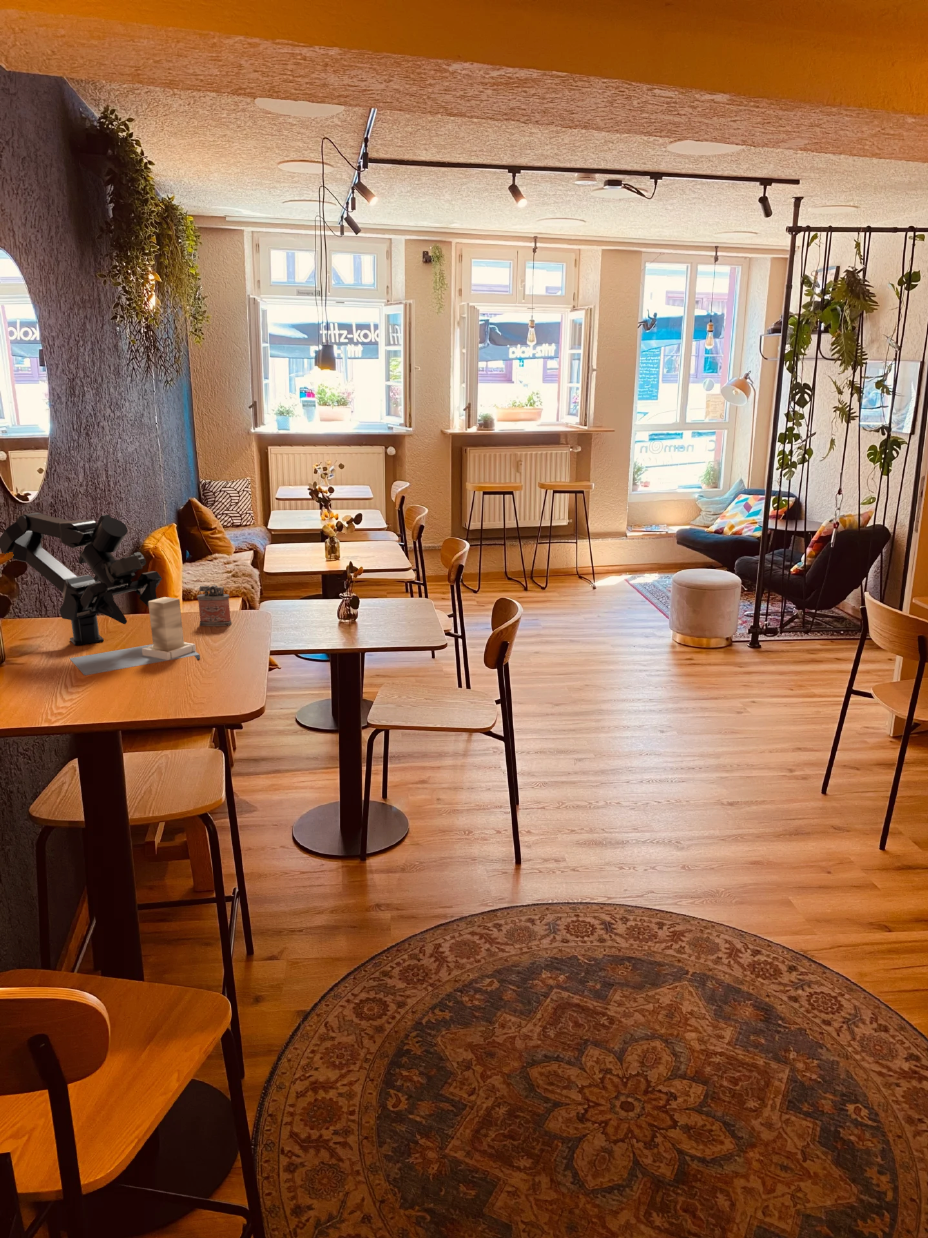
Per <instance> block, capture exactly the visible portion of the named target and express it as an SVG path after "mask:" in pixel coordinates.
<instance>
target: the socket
mask: <svg viewBox="0 0 928 1238" xmlns="http://www.w3.org/2000/svg"><path fill="white" fill-rule="evenodd" d="M192 651H196V652H197V647H196V644H195V643H191V642H186V641H184V647H181V648H178V649H175V650H172V651H169V652H165V651H160V650H155V649H154V648H153V645H152V646H148V647H146V648H142V654H143V655H145V656H150V657H155V658H160V659H165V660H168V661H170V660H169V659H171V658H175V657H178V656H181V655H184V654H187V653H190V652H192Z"/></svg>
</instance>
